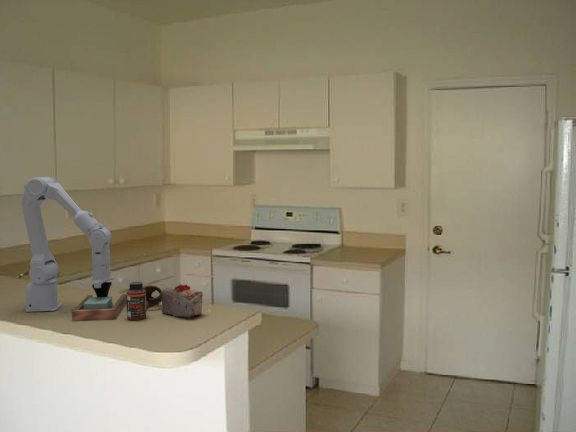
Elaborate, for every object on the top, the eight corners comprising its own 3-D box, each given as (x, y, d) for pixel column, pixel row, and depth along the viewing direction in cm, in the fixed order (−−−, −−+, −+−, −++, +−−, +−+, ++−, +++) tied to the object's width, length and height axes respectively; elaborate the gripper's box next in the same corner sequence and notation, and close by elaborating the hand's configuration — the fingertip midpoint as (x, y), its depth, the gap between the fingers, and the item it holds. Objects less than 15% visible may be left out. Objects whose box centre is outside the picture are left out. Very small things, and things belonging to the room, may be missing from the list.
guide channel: (72, 320, 179) (71, 311, 179) (88, 303, 200) (88, 295, 200) (115, 319, 180) (114, 309, 180) (126, 302, 202) (126, 294, 201)
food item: (206, 315, 185) (206, 284, 184) (189, 321, 178) (189, 289, 177) (175, 309, 192) (174, 280, 191) (157, 314, 186) (157, 284, 185)
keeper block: (84, 317, 182) (83, 303, 182) (90, 310, 191) (90, 297, 191) (107, 317, 183) (106, 303, 183) (112, 309, 192) (112, 296, 192)
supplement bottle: (129, 321, 178) (128, 285, 176) (125, 317, 183) (123, 281, 182) (148, 319, 180) (147, 283, 179) (144, 314, 186) (142, 280, 184)
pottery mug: (164, 303, 202) (167, 286, 197) (157, 322, 194) (160, 304, 189) (130, 296, 201) (132, 277, 196) (121, 314, 193) (124, 295, 188)
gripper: (109, 268, 185) (111, 309, 186) (117, 260, 199) (119, 299, 201) (86, 268, 184) (88, 310, 186) (96, 261, 199) (98, 299, 200)
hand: (102, 304), depth 193 cm, fingers closed
